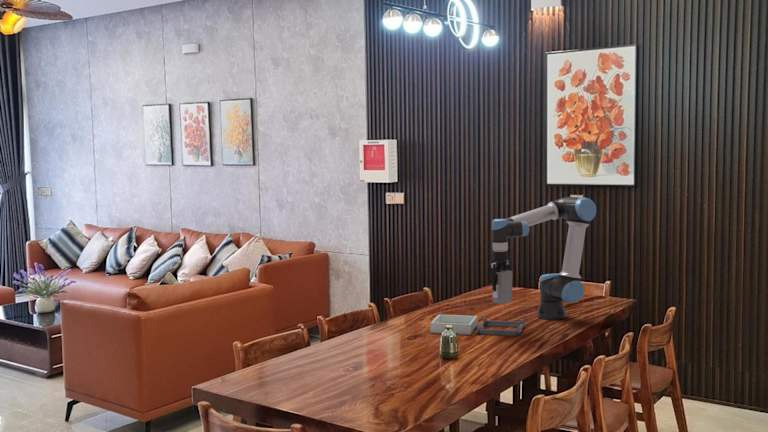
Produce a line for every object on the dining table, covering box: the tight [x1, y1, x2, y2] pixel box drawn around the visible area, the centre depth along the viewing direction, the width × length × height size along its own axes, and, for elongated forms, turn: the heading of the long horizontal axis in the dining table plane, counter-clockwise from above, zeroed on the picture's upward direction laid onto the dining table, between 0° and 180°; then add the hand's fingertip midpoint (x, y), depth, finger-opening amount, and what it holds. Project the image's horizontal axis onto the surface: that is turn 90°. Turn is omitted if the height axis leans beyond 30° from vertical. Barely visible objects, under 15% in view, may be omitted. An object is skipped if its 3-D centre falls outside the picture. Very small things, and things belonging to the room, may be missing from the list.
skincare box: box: [491, 270, 514, 305], centre depth 371 cm, size 8×7×16 cm
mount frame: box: [476, 316, 525, 337], centre depth 373 cm, size 21×21×4 cm
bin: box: [429, 314, 479, 336], centre depth 378 cm, size 20×20×5 cm
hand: (501, 296), depth 372 cm, fingers closed on skincare box, 8 cm apart
